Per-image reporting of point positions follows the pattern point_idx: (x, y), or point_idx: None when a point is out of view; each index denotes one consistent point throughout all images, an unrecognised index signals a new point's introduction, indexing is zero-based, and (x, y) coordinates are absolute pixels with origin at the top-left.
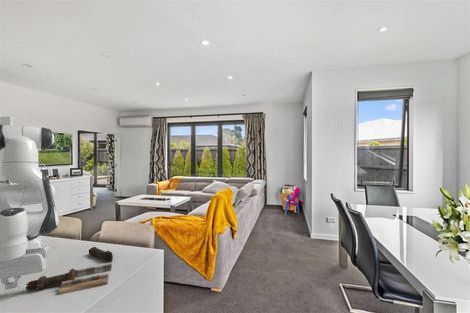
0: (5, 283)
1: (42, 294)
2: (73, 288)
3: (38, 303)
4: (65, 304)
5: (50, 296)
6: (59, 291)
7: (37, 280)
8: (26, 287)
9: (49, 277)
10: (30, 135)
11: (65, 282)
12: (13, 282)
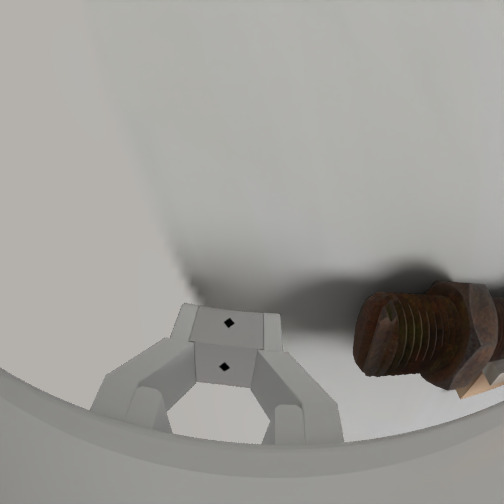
0: (175, 398)
1: (416, 374)
2: (492, 388)
3: (386, 421)
4: None
5: (431, 394)
6: (461, 396)
7: (442, 365)
8: (360, 368)
9: (501, 336)
10: None
11: (500, 381)
12: (241, 359)
